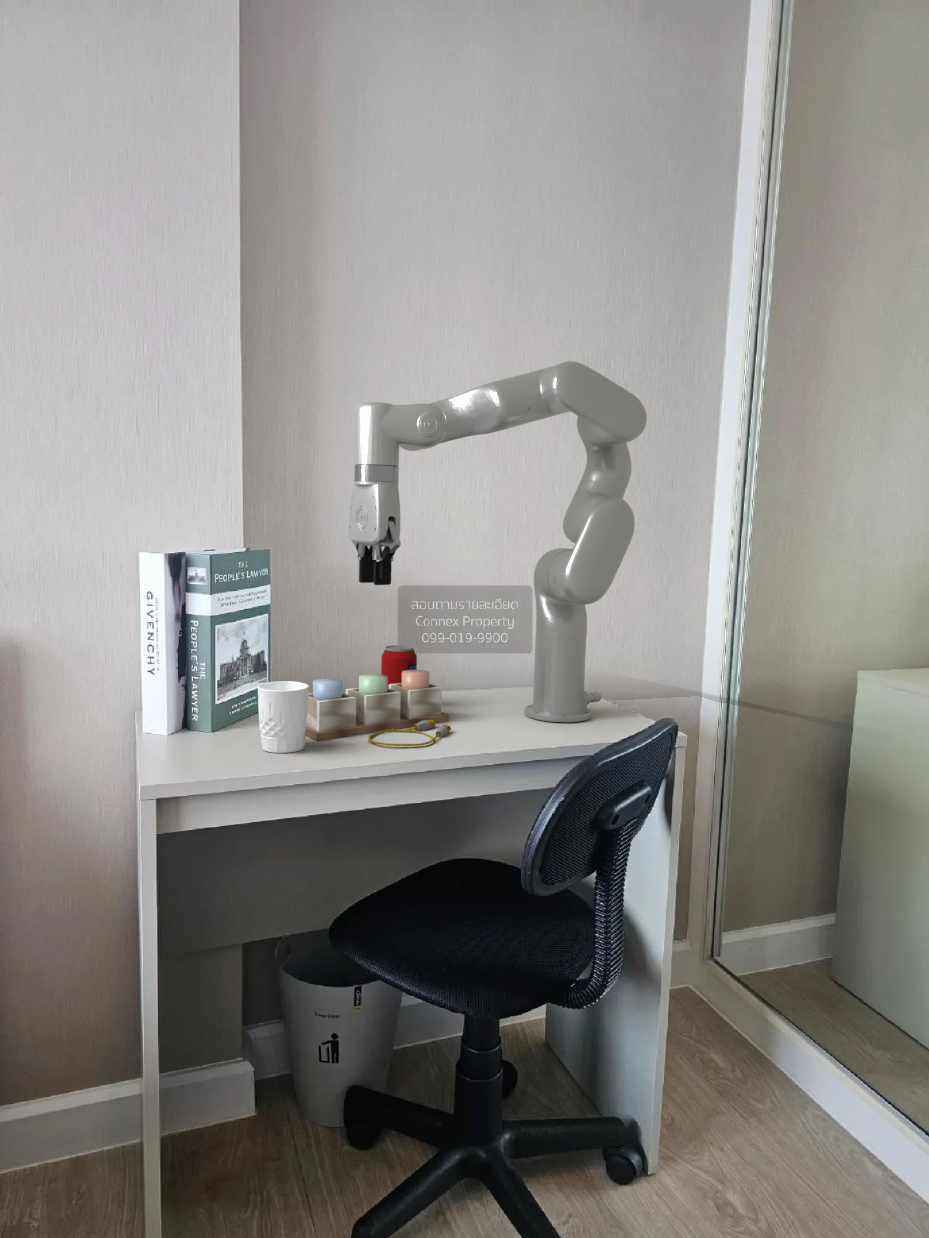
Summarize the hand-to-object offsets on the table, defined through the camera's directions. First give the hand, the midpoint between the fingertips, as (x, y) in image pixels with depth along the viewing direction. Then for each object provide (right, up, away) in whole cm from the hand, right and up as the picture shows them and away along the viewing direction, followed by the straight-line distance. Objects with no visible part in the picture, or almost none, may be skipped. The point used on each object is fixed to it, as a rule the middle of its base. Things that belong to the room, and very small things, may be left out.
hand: (374, 582), depth 156 cm
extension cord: (+7, -27, -5) cm, 28 cm away
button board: (-1, -25, +3) cm, 25 cm away
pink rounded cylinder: (+7, -21, +8) cm, 23 cm away
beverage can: (+3, -24, +16) cm, 29 cm away
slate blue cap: (-8, -22, -3) cm, 23 cm away
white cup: (-13, -27, -13) cm, 33 cm away
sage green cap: (-1, -21, +3) cm, 22 cm away
